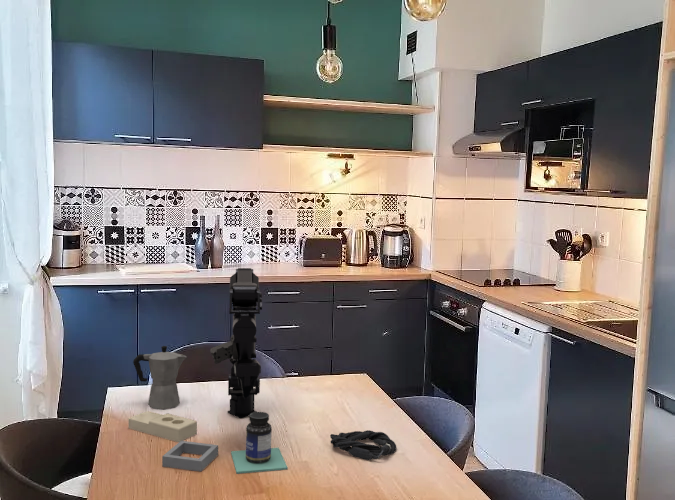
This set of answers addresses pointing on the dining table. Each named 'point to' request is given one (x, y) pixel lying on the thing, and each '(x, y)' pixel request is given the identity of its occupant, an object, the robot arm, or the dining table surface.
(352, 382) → the dining table surface
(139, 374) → the coffeepot
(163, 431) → the electrical outlet
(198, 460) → the collar
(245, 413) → the robot arm
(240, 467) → the mat
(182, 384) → the dining table surface
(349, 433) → the cable
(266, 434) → the pill bottle
